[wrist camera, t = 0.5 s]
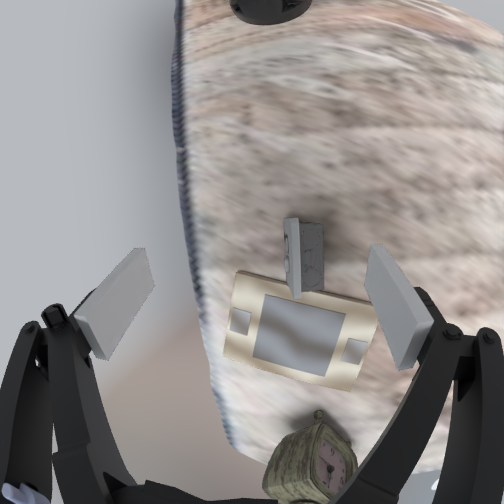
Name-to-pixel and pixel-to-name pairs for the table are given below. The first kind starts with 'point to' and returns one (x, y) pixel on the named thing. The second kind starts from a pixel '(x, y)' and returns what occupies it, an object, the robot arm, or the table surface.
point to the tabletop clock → (309, 466)
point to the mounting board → (298, 332)
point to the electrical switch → (303, 256)
